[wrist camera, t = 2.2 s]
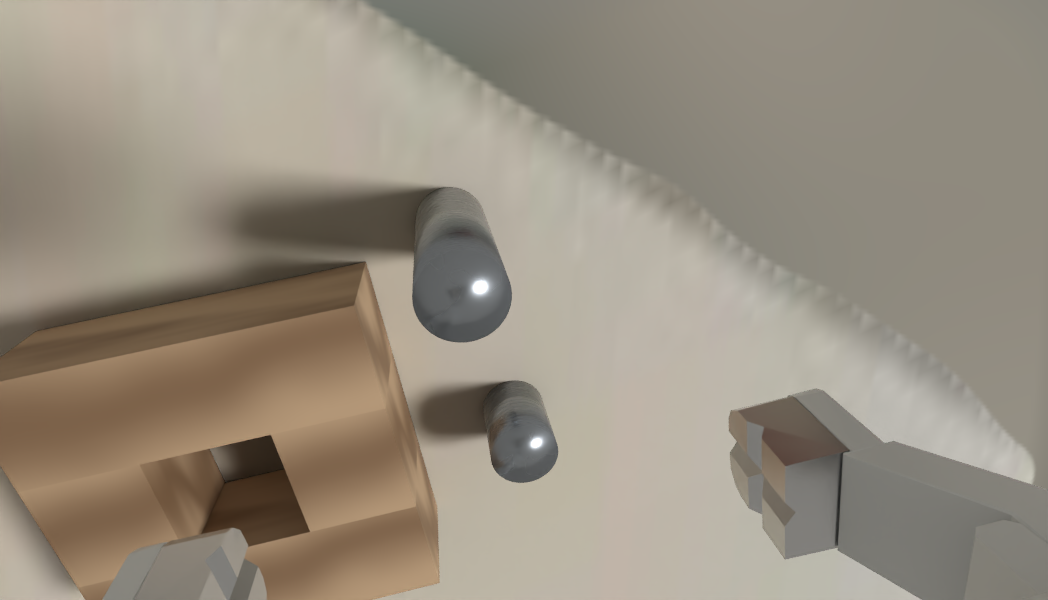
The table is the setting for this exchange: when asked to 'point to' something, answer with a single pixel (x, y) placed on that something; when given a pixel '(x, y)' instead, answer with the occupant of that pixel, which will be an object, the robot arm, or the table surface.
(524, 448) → the short pin
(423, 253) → the tall pin
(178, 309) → the hole block
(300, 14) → the table surface
